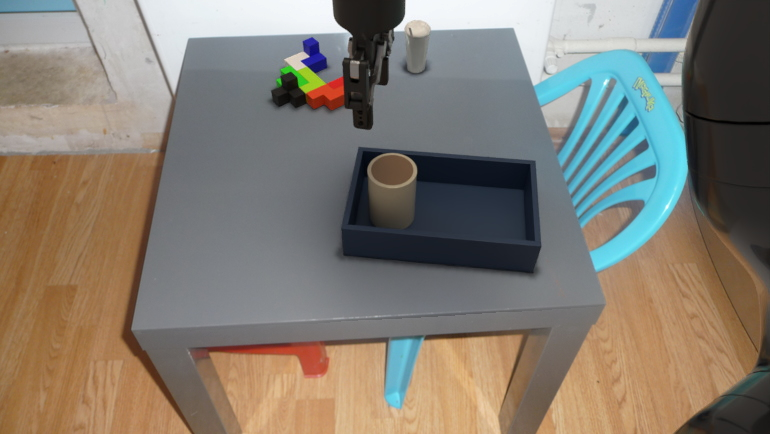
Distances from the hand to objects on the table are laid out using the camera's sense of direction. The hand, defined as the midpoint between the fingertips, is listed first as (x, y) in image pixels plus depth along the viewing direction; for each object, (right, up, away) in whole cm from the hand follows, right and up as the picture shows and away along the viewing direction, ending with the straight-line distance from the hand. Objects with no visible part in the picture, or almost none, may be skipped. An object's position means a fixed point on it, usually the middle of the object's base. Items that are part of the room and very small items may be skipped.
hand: (371, 104), depth 70 cm
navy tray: (+9, -14, +14) cm, 22 cm away
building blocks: (-12, +9, +34) cm, 37 cm away
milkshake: (+7, +13, +38) cm, 41 cm away
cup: (+3, -13, +14) cm, 19 cm away
